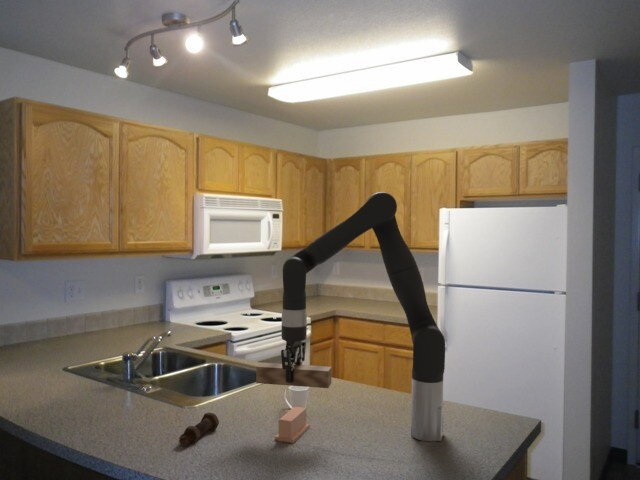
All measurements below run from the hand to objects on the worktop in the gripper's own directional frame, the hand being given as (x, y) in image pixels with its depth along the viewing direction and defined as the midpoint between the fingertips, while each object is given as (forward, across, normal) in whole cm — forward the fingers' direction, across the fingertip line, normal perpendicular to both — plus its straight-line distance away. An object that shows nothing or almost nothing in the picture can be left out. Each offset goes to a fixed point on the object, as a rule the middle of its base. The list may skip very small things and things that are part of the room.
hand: (293, 379), depth 159 cm
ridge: (+16, 0, 0) cm, 16 cm away
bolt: (+17, -13, +25) cm, 33 cm away
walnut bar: (+1, 0, 0) cm, 1 cm away
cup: (+17, +19, +7) cm, 26 cm away
